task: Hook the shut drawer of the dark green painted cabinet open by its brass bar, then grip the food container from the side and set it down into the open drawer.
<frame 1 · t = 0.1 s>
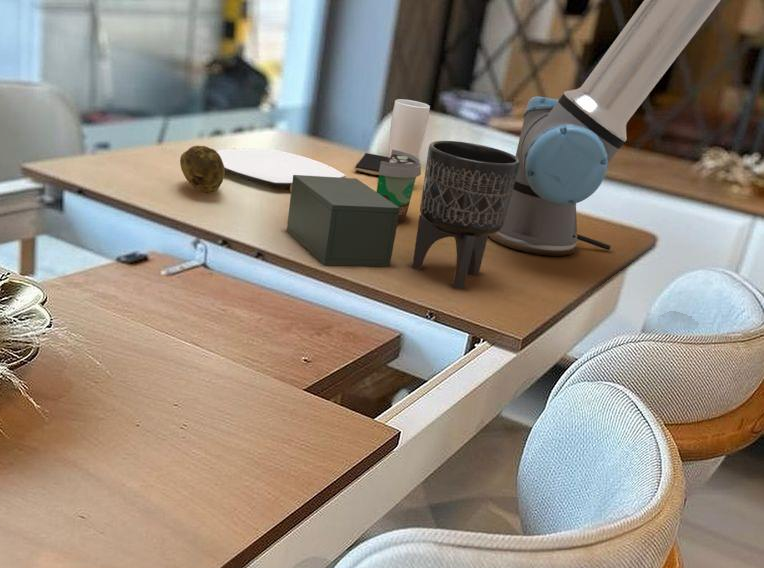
potato: (200, 193, 169), on the table
cabinet: (336, 248, 153), on the table
plate: (273, 176, 187), on the table
smartphone: (377, 169, 205), on the table
food container: (394, 219, 173), on the table
planter: (449, 276, 150), on the table
drawer: (330, 211, 154), point 4 cm above the table, slide at 0.0 cm
drinking glass: (398, 186, 195), on the table
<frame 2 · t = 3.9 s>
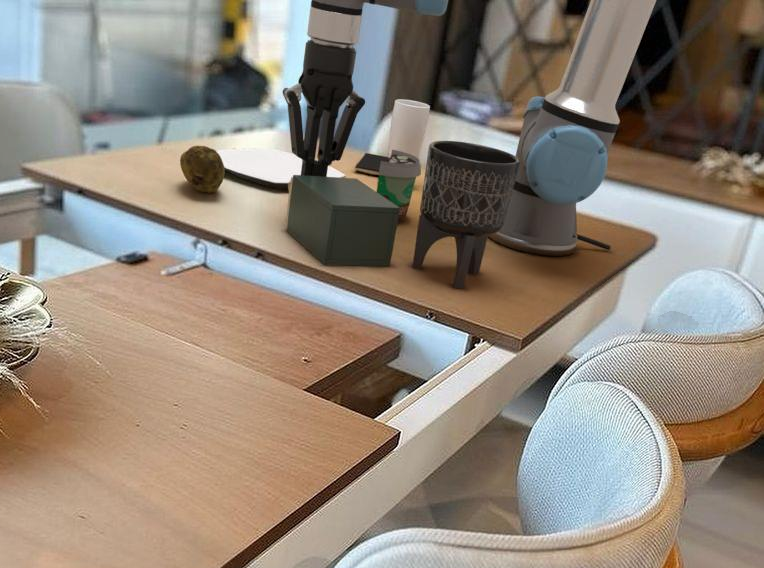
hand: (309, 204, 160), 3 cm above the table, tool pointing down, fingers closed
drawer: (327, 209, 154), point 4 cm above the table, slide at 1.0 cm, touching gripper
everything else where it was.
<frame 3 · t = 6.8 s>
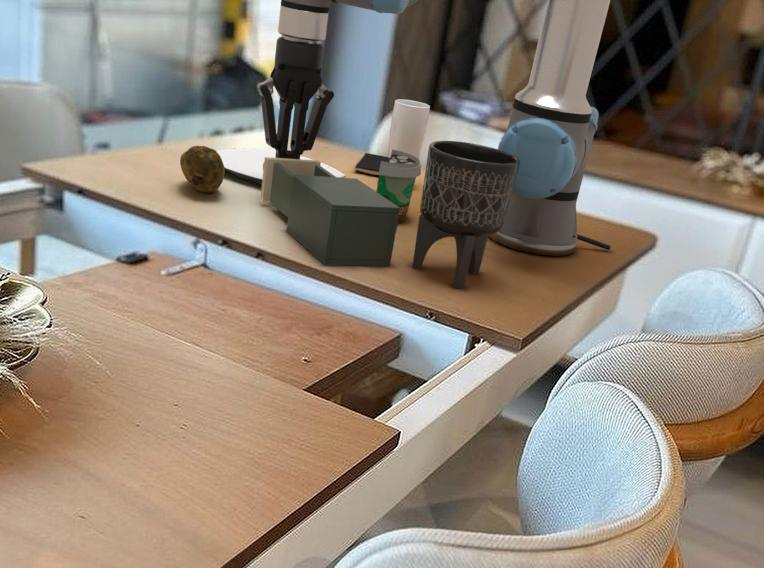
hand: (283, 191, 170), 2 cm above the table, tool pointing down, fingers closed
drawer: (299, 187, 164), point 4 cm above the table, slide at 13.0 cm
everything else where it was.
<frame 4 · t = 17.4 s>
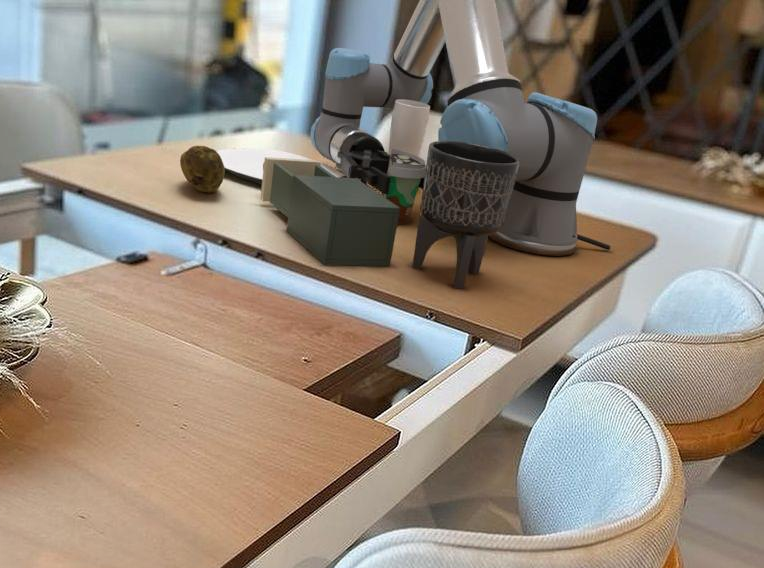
hand: (413, 187, 166), 7 cm above the table, tool horizontal, fingers closed on food container, 9 cm apart
food container: (397, 219, 173), on the table, touching gripper
drinking glass: (398, 186, 195), on the table, touching arm
everything else where it was.
when the fingers open (14 cm above the table, at t = 24.2 s): food container drops 2 cm, resting on drawer.
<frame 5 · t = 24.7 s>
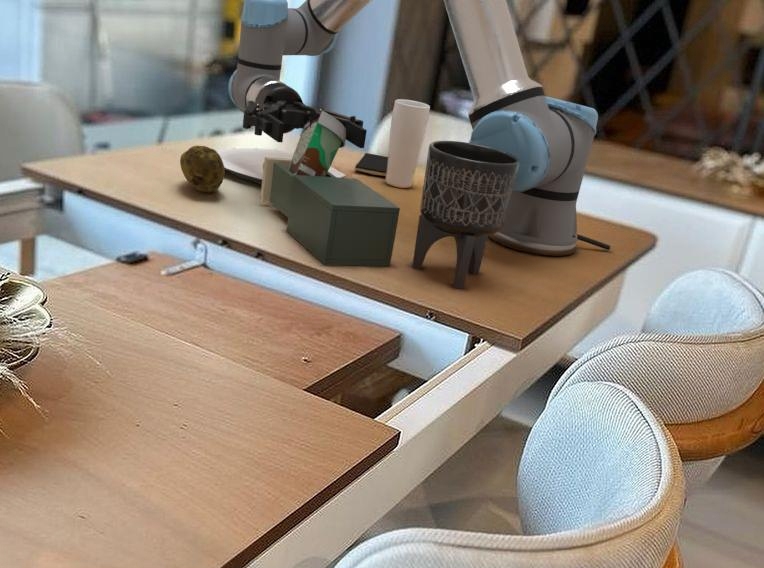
hand: (323, 136, 154), 14 cm above the table, tool horizontal, fingers open, 13 cm apart
food container: (306, 187, 161), point 5 cm above the table, touching drawer, gripper
drawer: (299, 187, 164), point 4 cm above the table, slide at 13.1 cm, touching food container
drinking glass: (398, 186, 195), on the table
everything else where it was.
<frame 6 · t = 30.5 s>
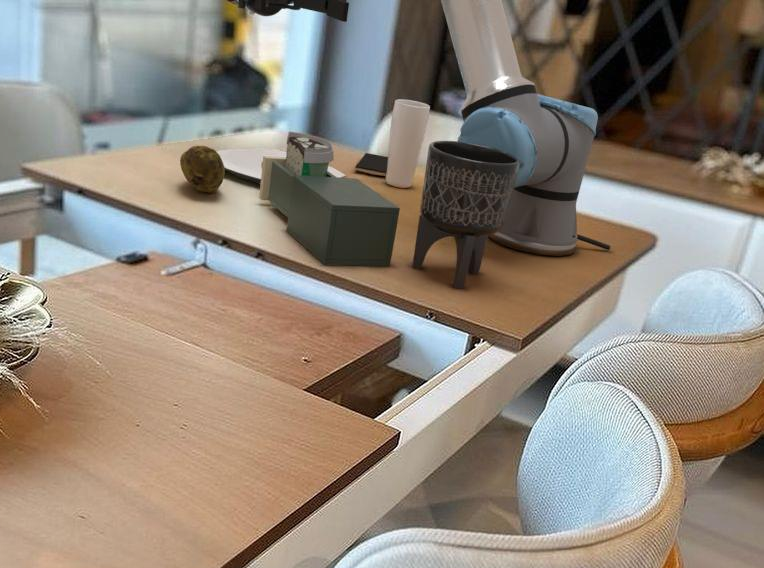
hand: (305, 6, 155), 30 cm above the table, tool horizontal, fingers open, 13 cm apart
food container: (307, 206, 164), point 2 cm above the table, touching drawer
drawer: (297, 186, 164), point 4 cm above the table, slide at 13.7 cm, touching food container
everything else where it was.
at the end: drawer slide at 13.7 cm; food container inside the target area in the drawer (1.8 cm from its centre), point 1.8 cm above the cabinet's base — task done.
